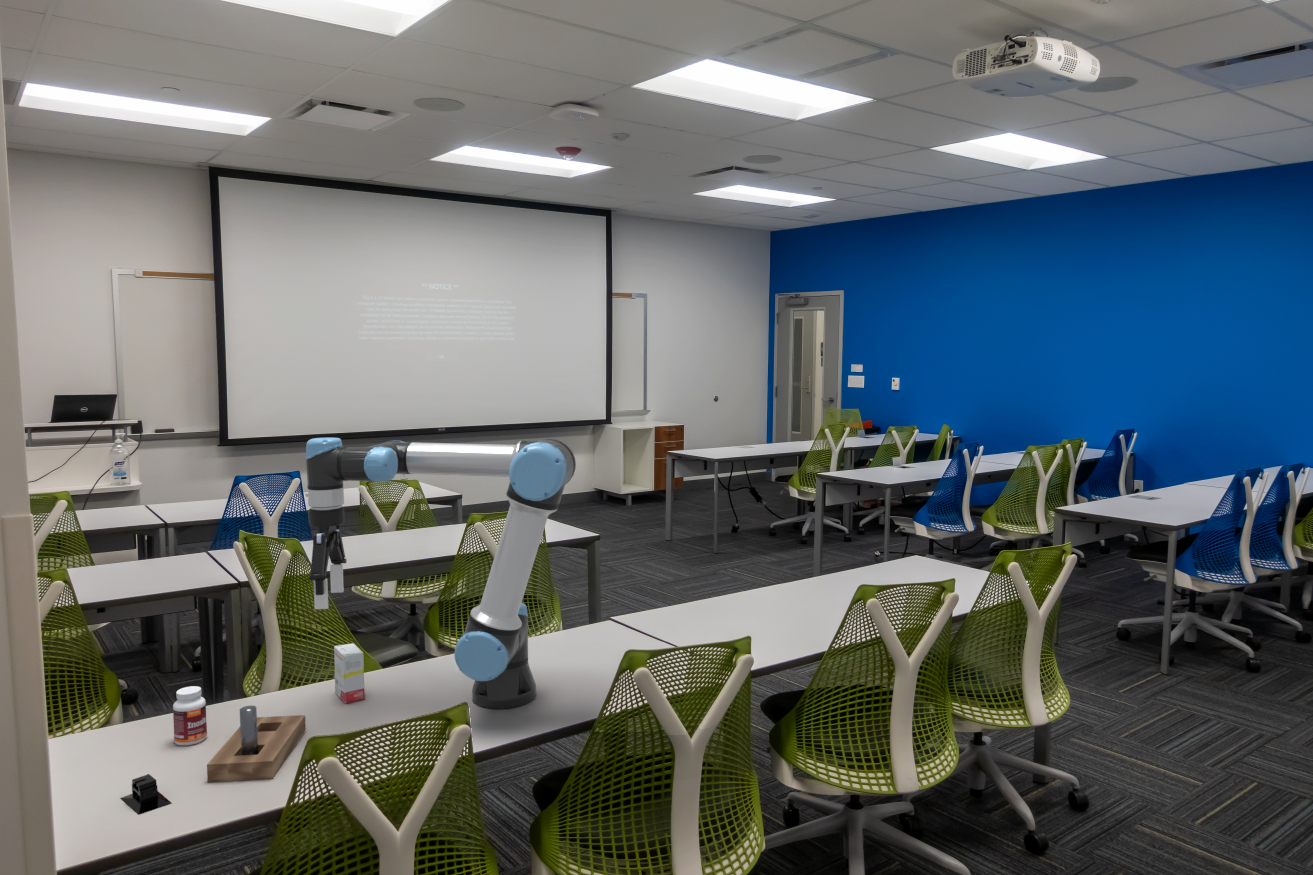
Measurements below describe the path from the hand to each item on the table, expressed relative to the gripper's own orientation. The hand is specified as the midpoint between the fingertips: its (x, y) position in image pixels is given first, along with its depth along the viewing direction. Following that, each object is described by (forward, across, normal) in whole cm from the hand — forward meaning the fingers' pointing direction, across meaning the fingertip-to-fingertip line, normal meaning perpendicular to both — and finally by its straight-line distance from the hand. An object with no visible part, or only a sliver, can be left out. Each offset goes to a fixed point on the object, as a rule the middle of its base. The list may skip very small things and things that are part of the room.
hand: (329, 600), depth 195 cm
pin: (+27, +24, -10) cm, 38 cm away
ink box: (+27, -11, +1) cm, 29 cm away
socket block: (+27, +19, -10) cm, 34 cm away
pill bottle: (+27, +10, -27) cm, 39 cm away
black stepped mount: (+28, +36, -25) cm, 51 cm away
